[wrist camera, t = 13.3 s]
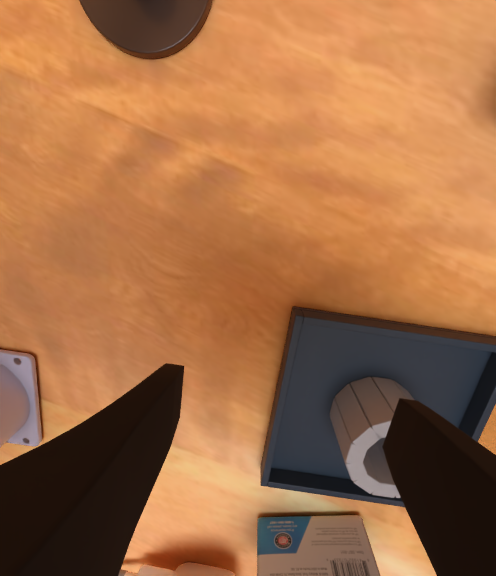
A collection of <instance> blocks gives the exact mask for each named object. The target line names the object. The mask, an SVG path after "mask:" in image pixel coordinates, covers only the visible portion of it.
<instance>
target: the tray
mask: <svg viewBox="0 0 496 576" xmlns="http://www.w3.org/2000/svg"><path fill="white" fill-rule="evenodd" d="M367 377H371V378H372V377H379V378H385V379H391V380H392V381H393V380H394V381H396V382H397V383H398V384H399V385H401V386H402V387H403V388H405V389H406V390H407V391H408V392H409V393H410V395H411V396H412V397H413V398H414V400H416V401H419V402H421V403H422V404H424V405H426V406H427V407H429V408H430V409H432V410H433V411H435V412H436V413H438V414H439V415H440V416H442V417H443V418H445V419H446V420H448V421H449V422H450V423H452V424H453V425H454V426H456V427H457V428H459V429H460V430H461V431H463V432H464V433H466V434H467V435H468V436H470V437H471V438H472V439H474V440H475V441H477V442H478V440H479V438H480V436H481V433H482V431H483V429H484V427H485V425H486V423H487V421H488V419H489V417H490V414H491V412H492V410H493V408H494V406H495V404H496V336H489V335H482V334H475V333H469V332H462V331H455V330H449V329H442V328H435V327H428V326H422V325H415V324H408V323H401V322H395V321H388V320H381V319H374V318H368V317H361V316H354V315H348V314H341V313H334V312H327V311H321V310H314V309H307V308H300V307H294V306H293V308H292V313H291V318H290V323H289V328H288V333H287V338H286V343H285V348H284V353H283V358H282V363H281V368H280V373H279V378H278V383H277V388H276V393H275V398H274V403H273V407H272V412H271V417H270V422H269V427H268V432H267V437H266V442H265V447H264V452H263V457H262V462H261V486H268V487H273V488H280V489H287V490H293V491H300V492H307V493H314V494H320V495H327V496H334V497H341V498H347V499H354V500H361V501H367V502H374V503H381V504H388V505H394V506H401V507H405V505H404V503H403V501H402V499H401V497H400V498H396V496H395V497H394V498H391V497H384V496H377V495H372V493H371V494H369V493H368V492H366V491H365V490H363V489H362V488H360V487H359V486H357V485H356V484H355V483H354V482H353V481H352V480H351V478H350V475H349V472H348V470H347V467H346V465H345V462H344V459H343V456H342V453H341V449H340V446H339V443H338V440H337V437H336V434H335V431H334V428H333V425H332V422H331V419H330V411H331V407H332V403H333V400H334V398H335V396H336V395H337V394H338V393H339V392H340V391H341V390H342V389H343V388H344V387H345V386H346V385H347V384H350V383H351V382H354V381H357V380H360V379H363V378H367ZM350 385H351V384H350Z"/></svg>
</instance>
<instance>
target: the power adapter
mask: <svg viewBox="0 0 496 576" xmlns="http://www.w3.org/2000/svg"><path fill="white" fill-rule="evenodd" d="M118 576H236V575H235V574H234V573H233V572H232V571H230V570H227V569H223V568H218V567H213V566H208V565H203V564H197V563H190V562H187V563H184V564H181V565H179V566H178V567H177V568H176V570H175V571H174V570H170V569H165V568H161V567H156V566H151V565H146V564H143V565H142V566H141V568H140V570H139V572H138V573H132V572H128V571H126V570H121V569H120V572H119V575H118Z"/></svg>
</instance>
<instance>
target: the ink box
mask: <svg viewBox="0 0 496 576" xmlns="http://www.w3.org/2000/svg"><path fill="white" fill-rule="evenodd" d="M257 576H380V573H379V570H378V567H377V564H376V560H375V557H374V554H373V551H372V548H371V545H370V542H369V539H368V536H367V533H366V530H365V527H364V523H363V519H362V518H361V517H360V516H358V515H342V516H295V517H260V518H258V526H257Z"/></svg>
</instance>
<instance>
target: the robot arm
mask: <svg viewBox="0 0 496 576" xmlns="http://www.w3.org/2000/svg"><path fill="white" fill-rule="evenodd" d="M19 359H20V360H21V361H20V360H19ZM183 375H184V366H181V365H174V364H167V363H166V364H164V365H163V366H162V367H160V368H159V369H158V370H156V371H155V372H154V373H152V374H151V375H150V376H149V377H147V378H146V379H145V380H143V381H142V382H141V383H139V384H138V385H137V386H135V387H134V388H133V389H131V390H130V391H129V392H127V393H126V394H124V395H123V396H122V397H120V398H119V399H117V400H116V401H115V402H113V403H112V404H110V405H109V406H107V407H106V408H104V409H103V410H101V411H100V412H98V413H96V414H95V415H93V416H92V417H90V418H89V419H87V420H86V421H84V422H82V423H81V424H79V425H77V426H76V427H74V428H72V429H70V430H69V431H67V432H65V433H63V434H61V435H60V436H58V437H56V438H54V439H52V440H50V441H49V442H47V443H45V444H43V445H41V446H39V447H37V448H35V449H33V450H31V451H29V452H27V453H25V454H23V455H20V456H18V457H16V458H14V459H12V460H10V461H8V462H6V463H4V464H2V465H0V576H118V575H119V572H120V569H121V566H122V563H123V561H124V558H125V555H126V552H127V549H128V546H129V543H130V541H131V538H132V536H133V533H134V531H135V528H136V526H137V523H138V521H139V519H140V516H141V514H142V512H143V509H144V507H145V505H146V503H147V500H148V498H149V496H150V493H151V491H152V489H153V486H154V484H155V482H156V480H157V477H158V475H159V473H160V470H161V468H162V466H163V463H164V461H165V459H166V456H167V454H168V452H169V449H170V447H171V444H172V440H173V437H174V434H175V431H176V428H177V424H178V421H179V418H180V409H181V397H182V386H183ZM41 441H42V432H41V420H40V409H39V397H38V386H37V375H36V363H35V358H34V357H33V356H32V355H31V354H28V353H21V352H14V351H8V350H1V349H0V447H1V446H2V445H3V444H4V443H6V442H7V443H14V444H21V445H28V446H38V445H39V444H40V442H41ZM382 448H383V451H384V454H385V458H386V461H387V464H388V467H389V470H390V473H391V476H392V479H393V481H394V483H395V486H396V488H397V490H398V492H399V495H400V497H401V499H402V501H403V503H404V505H405V508H406V510H407V512H408V514H409V516H410V518H411V521H412V523H413V525H414V527H415V529H416V531H417V533H418V535H419V538H420V540H421V542H422V544H423V546H424V548H425V550H426V553H427V555H428V557H429V559H430V561H431V563H432V565H433V568H434V570H435V572H436V574H437V576H496V455H495V454H493V453H492V452H491V451H489V450H488V449H486V448H485V447H484V446H482V445H481V444H479V443H478V442H477V441H475V440H474V439H472V438H471V437H470V436H468V435H467V434H466V433H464V432H463V431H461V430H460V429H459V428H457V427H456V426H454V425H453V424H452V423H450V422H449V421H448V420H446V419H445V418H443V417H442V416H440V415H439V414H438V413H436V412H435V411H433V410H432V409H430V408H429V407H427V406H426V405H424V404H422V403H421V402H419V401H416V400H410V399H403V398H399V401H398V404H397V406H396V409H395V412H394V415H393V418H392V421H391V423H390V426H389V429H388V432H387V435H386V437H385V440H384V443H383V446H382Z"/></svg>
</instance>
